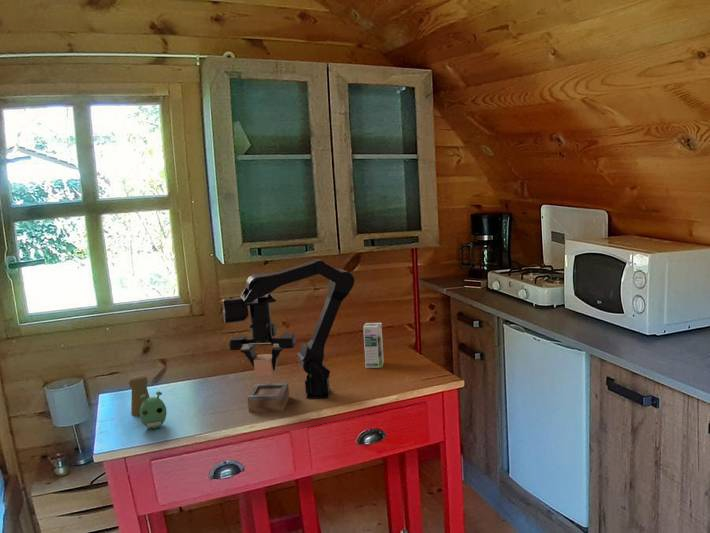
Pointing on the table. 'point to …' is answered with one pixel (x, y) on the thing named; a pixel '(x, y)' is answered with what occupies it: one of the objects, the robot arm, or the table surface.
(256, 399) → the grey square frame
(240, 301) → the robot arm
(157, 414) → the alien toy
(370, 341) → the syrup box
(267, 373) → the top brick
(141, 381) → the cork
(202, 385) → the table surface
